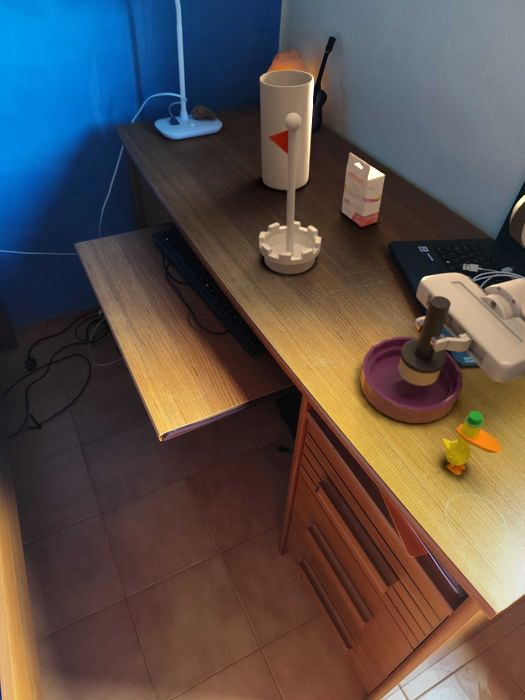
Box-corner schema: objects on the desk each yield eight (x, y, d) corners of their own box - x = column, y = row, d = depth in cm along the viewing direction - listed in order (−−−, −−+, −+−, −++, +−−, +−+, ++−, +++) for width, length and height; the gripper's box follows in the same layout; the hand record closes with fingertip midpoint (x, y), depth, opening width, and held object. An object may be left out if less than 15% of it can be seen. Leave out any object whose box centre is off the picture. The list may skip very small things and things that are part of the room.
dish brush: (448, 380, 70) (476, 311, 60) (410, 391, 69) (433, 323, 59) (424, 351, 74) (447, 282, 64) (389, 361, 73) (406, 293, 63)
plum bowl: (475, 409, 73) (483, 393, 70) (389, 437, 70) (394, 421, 67) (421, 343, 83) (427, 327, 80) (344, 366, 80) (346, 349, 77)
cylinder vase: (294, 196, 120) (297, 90, 102) (253, 184, 125) (249, 81, 107) (316, 176, 127) (322, 74, 109) (277, 166, 132) (277, 67, 114)
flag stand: (330, 253, 102) (344, 108, 81) (299, 284, 95) (306, 134, 73) (280, 235, 108) (281, 95, 86) (247, 264, 100) (240, 118, 79)
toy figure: (484, 474, 65) (516, 425, 56) (473, 492, 63) (504, 444, 55) (440, 446, 68) (464, 396, 60) (428, 463, 66) (451, 413, 58)
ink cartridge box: (378, 222, 111) (389, 161, 100) (361, 228, 109) (370, 167, 98) (357, 206, 116) (365, 147, 105) (340, 211, 114) (347, 152, 104)
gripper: (469, 256, 73) (391, 275, 70) (568, 342, 60) (476, 370, 57) (458, 288, 78) (384, 307, 75) (547, 374, 64) (462, 402, 61)
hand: (424, 335), depth 66 cm, fingers closed on dish brush, 2 cm apart
